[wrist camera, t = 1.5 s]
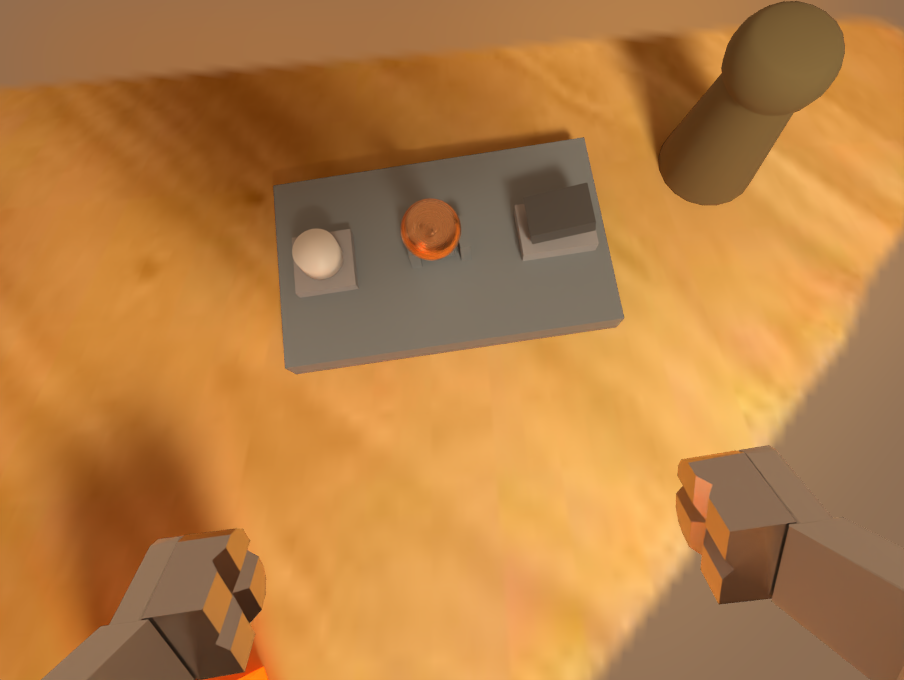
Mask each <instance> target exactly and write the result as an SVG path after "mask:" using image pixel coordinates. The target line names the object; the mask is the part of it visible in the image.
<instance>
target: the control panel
mask: <svg viewBox="0 0 904 680" xmlns="http://www.w3.org/2000/svg"><path fill="white" fill-rule="evenodd" d="M582 183H588V188H589V192H590V197H591V201H592V206H593V210H594V215H595V220H596V230H595V231H591V232H586V233H582V234H577V235H573V236H568V237H564V238H559V239H555V240H550V241H545V242H541V243H536V244H532V242H531V237H530V232H529V227H528V222H527V216H526V211H525V206H524V200H523V197H528V196H532V195H536V194H540V193H544V192H549V191H553V190H557V189H561V188H566V187H570V186H574V185H578V184H582ZM273 190H274V205H275V221H276V236H277V252H278V267H279V283H280V298H281V314H282V329H283V345H284V360H285V369H287V370H289V371H291V372H293V373H295V374H300V373H307V372H314V371H321V370H328V369H335V368H341V367H348V366H355V365H362V364H369V363H375V362H382V361H389V360H396V359H403V358H409V357H416V356H423V355H430V354H437V353H443V352H450V351H457V350H464V349H471V348H477V347H484V346H491V345H498V344H505V343H512V342H518V341H525V340H532V339H539V338H546V337H552V336H559V335H566V334H573V333H580V332H586V331H593V330H600V329H607V328H614V327H617V326H618V325H619V323H620V322H621V321H622V320H623V319H624V315H623V310H622V306H621V301H620V297H619V292H618V288H617V283H616V279H615V274H614V270H613V265H612V261H611V256H610V252H609V247H608V243H607V238H606V234H605V229H604V225H603V220H602V216H601V211H600V207H599V202H598V198H597V193H596V189H595V184H594V180H593V175H592V171H591V166H590V162H589V157H588V153H587V148H586V144H585V139H584V137H583V138H577V139H570V140H564V141H558V142H551V143H545V144H538V145H532V146H525V147H519V148H513V149H506V150H500V151H493V152H487V153H480V154H474V155H467V156H461V157H455V158H448V159H442V160H435V161H429V162H422V163H416V164H409V165H403V166H397V167H390V168H384V169H377V170H371V171H364V172H358V173H351V174H345V175H339V176H332V177H326V178H319V179H313V180H306V181H300V182H293V183H287V184H281V185H274V186H273ZM429 198H432V199H439V200H442V201H444V202H446V203H447V204H449V205H450V206H451V207H452V208H453V209H454V210H455V211H456V213H457V215H458V217H459V219H460V222H461V237H460V241H459V243H458V245H457V247H456V248H455V252H456V255H450V256H446V257H444V258H442V259H439V260H433V261H430V260H423V259H420V258H418V257H416V256H415V255H413V254H412V253H411V252H410V251H409V250H408V249H407V248H406V246H405V245H404V243H403V240H402V237H401V221H402V218H403V216H404V214H405V212H406V211H407V210H408V208H409V207H410V206H411V205H413V204H414V203H416V202H418V201H420V200H423V199H429ZM310 229H323V230H326V231H328V232H329V233H330V234H332V236H333V237H334V238H335V240H336V241H337V243H338V244H339V246H340V248H341V249H342V252H343V264H342V266H341V268H340V270H339V271H338V272H337V273H336V274H335V275H334V276H332V277H330V278H327V279H323V280H317V279H313V278H311V277H309V276H307V275H306V274H305V273H304V272H303V271H302V270H301V268H300V267H299V266H298V265H297V264H296V263H295V261H294V259H293V256H292V247H293V244H294V242H295V240H296V239H297V237H298V236H299V235H300V234H302V233H303V232H305V231H307V230H310Z"/></svg>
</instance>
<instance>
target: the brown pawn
mask: <svg viewBox="0 0 904 680" xmlns="http://www.w3.org/2000/svg"><path fill="white" fill-rule="evenodd" d="M844 54H845V44H844V37H843V32H842V31H841V29H840V27H839V25H838V24H837V22H836V21H835V20H834V19H833V18H832V17H831V16H830V15H829V14H828V13H827V12H826V11H824V10H822V9H820V8H818V7H816V6H814V5H811V4H807V3H803V2H798V1H795V2H793V1H790V2H780V3H776V4H773V5H769V6H767V7H765V8H763V9H761V10H759V11H758V12H756V13H755V14H753V15H752V16H750V17H749V18H748V19H747V20H746V21H745V22H744V23H743V24H742V25H741V26H740V27H739V28H738V30H737V31H736V32H735V33H734V35H733V36H732V38H731V40H730V41H729V43H728V45H727V48H726V52H725V55H724V58H723V63H722V67H721V68H722V74H721V75H720V76H719V77H718V78H717V80H716V81H715V82H714V83H713V84H712V86H711V87H710V88H709V89H708V90H707V92H706V93H705V94H704V95H703V96H702V98H701V99H700V100H699V101H698V102H697V104H696V105H695V106H694V107H693V108H692V110H691V111H690V112H689V113H688V114H687V116H686V117H685V118H684V119H683V120H682V122H681V123H680V124H679V125H678V126H677V128H676V129H675V130H674V131H673V132H672V134H671V135H670V136H669V137H668V139H667V140H666V141H665V143H664V144H663V145H662V149H661V152H660V155H659V168H660V172H661V174H662V177H663V179H664V181H665V183H666V184H667V185H668V186H669V188H670V189H671V190H672V191H673V192H674V193H675V194H677V195H678V196H680V197H681V198H683V199H685V200H686V201H689V202H692V203H696V204H699V205H719V204H723V203H726V202H730V201H732V200H733V199H735V198H736V197H738V196H739V195H741V194H742V193H743V192H744V190H745V189H746V188H747V186H748V185H749V183H750V182H751V180H752V179H753V177H754V176H755V174H756V172H757V171H758V169H759V168H760V166H761V164H762V163H763V161H764V159H765V158H766V156H767V155H768V153H769V151H770V150H771V148H772V147H773V145H774V143H775V142H776V140H777V139H778V137H779V135H780V134H781V132H782V131H783V129H784V127H785V126H786V124H787V122H788V121H789V119H790V118H791V116H792V114H793V113H794V112H797V111H799V110H801V109H802V108H804V107H806V106H807V105H809V104H810V103H812V102H813V101H815V100H816V99H818V98H819V97H821V95H822V94H823V93H824V92H825V91H826V90H827V89H828V88H829V86H830V85H831V84H832V82H833V81H834V80H835V78H836V77H837V75H838V73H839V71H840V69H841V66H842V62H843V58H844Z"/></svg>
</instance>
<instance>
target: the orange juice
mask: <svg viewBox="0 0 904 680" xmlns="http://www.w3.org/2000/svg"><path fill="white" fill-rule="evenodd" d="M238 680H268V678H267V675H266V672H265V669H264V667H262V668H260V669H258V670H256V671H254V672H252V673H250V674H248V675H246V676H244V677H242V678H240V679H238Z"/></svg>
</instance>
